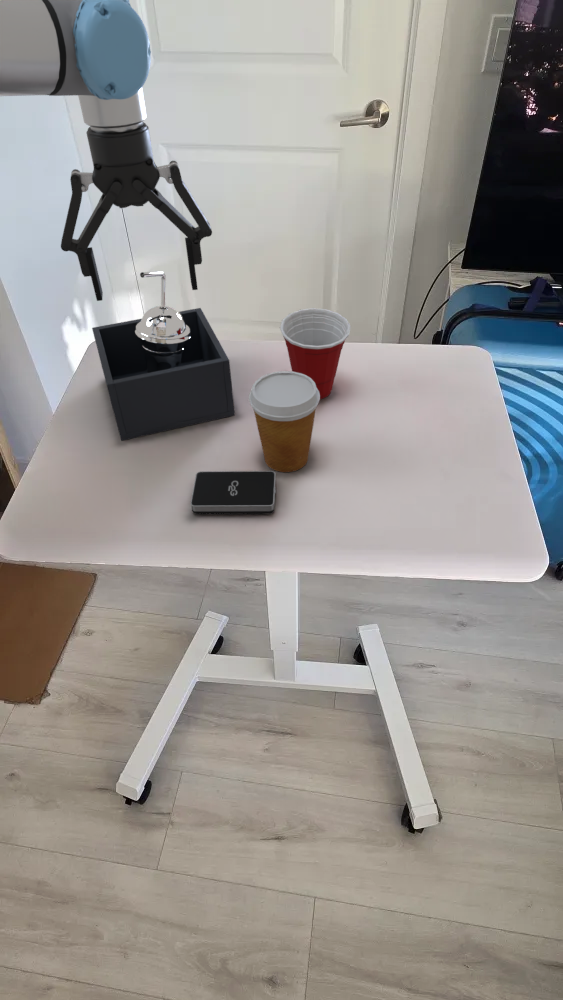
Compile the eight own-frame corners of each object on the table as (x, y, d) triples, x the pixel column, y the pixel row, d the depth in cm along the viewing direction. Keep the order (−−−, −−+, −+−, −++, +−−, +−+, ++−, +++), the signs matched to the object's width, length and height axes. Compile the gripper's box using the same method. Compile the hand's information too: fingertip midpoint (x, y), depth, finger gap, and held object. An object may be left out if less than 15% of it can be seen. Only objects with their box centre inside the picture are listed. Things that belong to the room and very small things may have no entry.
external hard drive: (198, 482, 88) (196, 471, 86) (277, 481, 87) (276, 470, 86) (191, 517, 82) (189, 506, 81) (275, 516, 82) (274, 505, 81)
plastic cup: (299, 417, 98) (298, 349, 90) (271, 383, 105) (268, 317, 97) (359, 399, 101) (364, 331, 93) (329, 367, 108) (330, 302, 100)
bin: (121, 441, 95) (106, 384, 88) (105, 380, 108) (91, 327, 101) (235, 415, 99) (229, 359, 92) (207, 360, 111) (200, 307, 105)
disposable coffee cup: (331, 450, 92) (333, 380, 83) (297, 488, 86) (295, 417, 78) (276, 431, 96) (273, 362, 87) (240, 466, 90) (233, 396, 82)
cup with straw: (198, 396, 102) (204, 271, 90) (148, 407, 97) (148, 277, 85) (172, 375, 107) (174, 254, 95) (123, 384, 102) (120, 258, 90)
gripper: (214, 109, 80) (229, 271, 95) (14, 125, 77) (61, 289, 92) (222, 123, 75) (236, 292, 89) (6, 140, 72) (57, 313, 86)
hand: (147, 291), depth 91 cm, fingers open, 13 cm apart
